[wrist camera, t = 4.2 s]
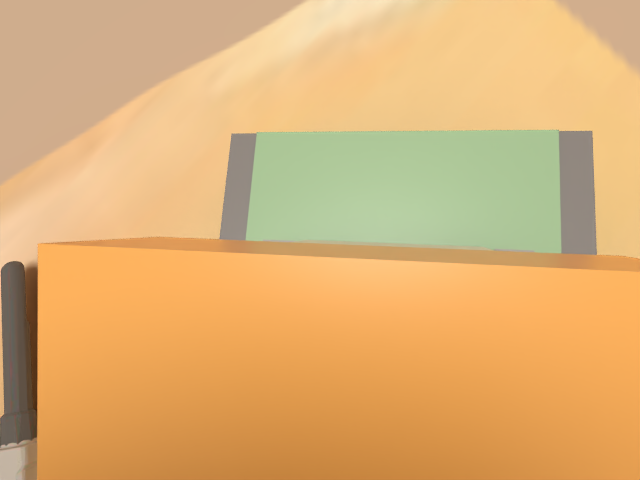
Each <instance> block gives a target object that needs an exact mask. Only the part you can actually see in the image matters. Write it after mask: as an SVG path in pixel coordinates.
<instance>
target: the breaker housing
mask: <svg viewBox="0 0 640 480" xmlns="http://www.w3.org/2000/svg"><path fill="white" fill-rule="evenodd" d="M220 239H222V240H246V241H270V242H295V241H301V240H326V241H351V242H377V243H402V244H427V245H452V246H478V247H485V248H488V249H491V250H495V251H514V252H538V253H562V254H587V255H597V249H596V221H595V193H594V166H593V138H592V131H559V130H484V131H361V132H257V134H232V135H231V144H230V153H229V161H228V170H227V178H226V187H225V196H224V204H223V213H222V222H221V230H220Z"/></svg>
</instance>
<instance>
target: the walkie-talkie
mask: <svg viewBox="0 0 640 480" xmlns="http://www.w3.org/2000/svg"><path fill="white" fill-rule="evenodd" d="M1 299H2V339H3V378H4V415H3V416H2V417H1V418H0V480H37V414H36V410H35V409H33V396H32V370H31V344H30V323H29V322H28V321H27V317H26V294H25V271H24V265H23V264H22V263H21V262H17V261H13V262H9V263H7V264H5V265H4V266H3V267H2V269H1Z"/></svg>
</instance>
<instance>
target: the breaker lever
mask: <svg viewBox="0 0 640 480" xmlns="http://www.w3.org/2000/svg"><path fill="white" fill-rule="evenodd" d="M37 480H640V259H638V258H632V257H625V256H611V255H587V254H562V253H538V252H514V251H495V250H491V249H488V248H485V247H478V246H452V245H427V244H402V243H377V242H351V241H326V240H301V241H295V242H270V241H246V240H222V239H198V238H173V237H148V238H130V239H112V240H94V241H76V242H58V243H40V244H38V382H37Z"/></svg>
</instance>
